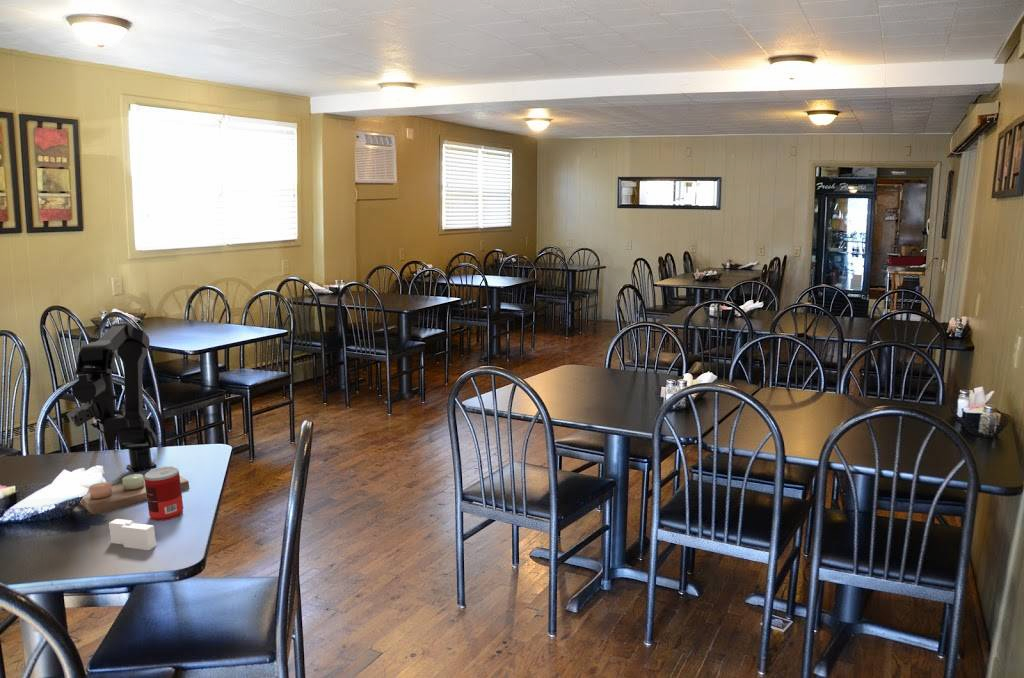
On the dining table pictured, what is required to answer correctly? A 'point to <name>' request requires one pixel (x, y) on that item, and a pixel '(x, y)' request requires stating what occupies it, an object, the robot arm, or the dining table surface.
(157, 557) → the dining table surface
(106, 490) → the button terracotta
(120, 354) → the robot arm
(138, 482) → the button sage
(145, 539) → the white stepped block
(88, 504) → the panel
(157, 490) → the canned food
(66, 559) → the dining table surface
